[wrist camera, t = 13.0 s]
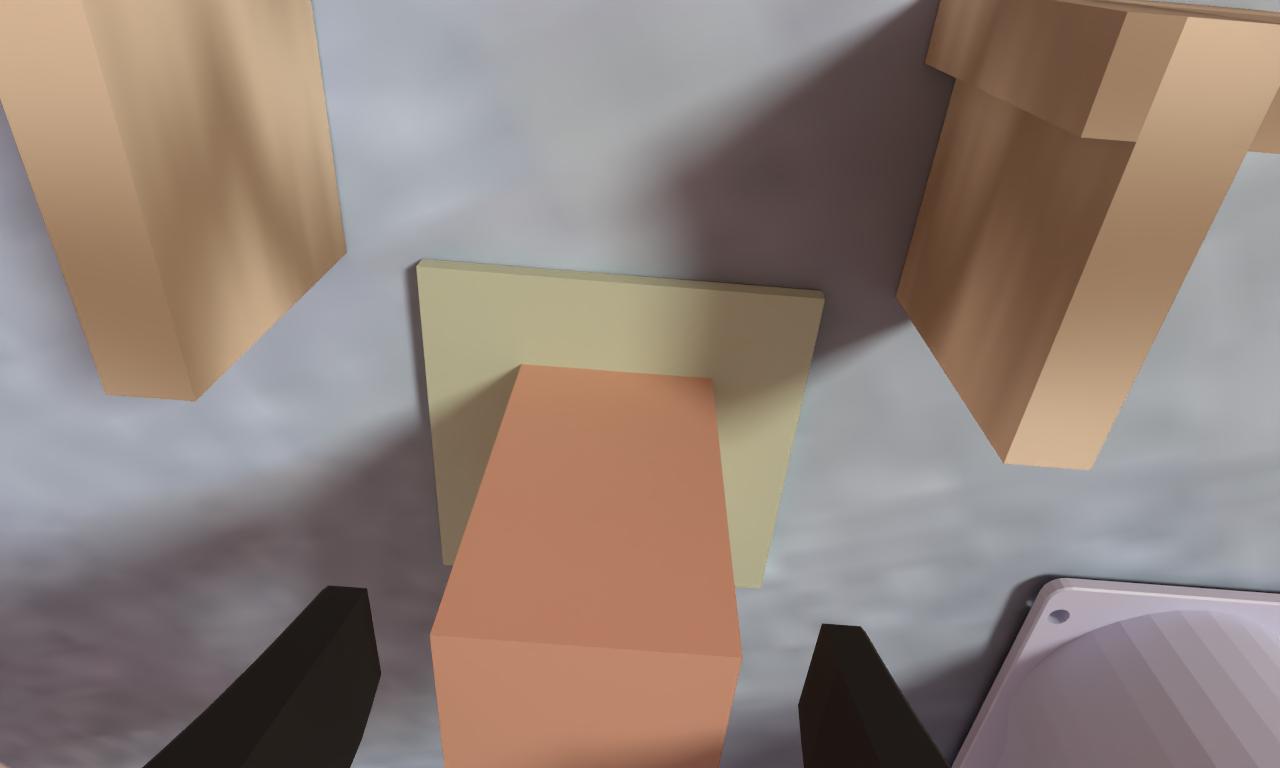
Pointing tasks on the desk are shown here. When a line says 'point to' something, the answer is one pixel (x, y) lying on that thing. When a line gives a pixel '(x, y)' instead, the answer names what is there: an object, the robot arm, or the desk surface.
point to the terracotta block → (593, 582)
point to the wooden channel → (937, 257)
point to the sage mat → (617, 341)
